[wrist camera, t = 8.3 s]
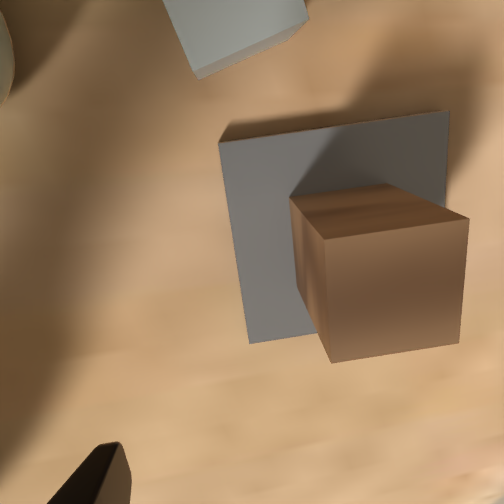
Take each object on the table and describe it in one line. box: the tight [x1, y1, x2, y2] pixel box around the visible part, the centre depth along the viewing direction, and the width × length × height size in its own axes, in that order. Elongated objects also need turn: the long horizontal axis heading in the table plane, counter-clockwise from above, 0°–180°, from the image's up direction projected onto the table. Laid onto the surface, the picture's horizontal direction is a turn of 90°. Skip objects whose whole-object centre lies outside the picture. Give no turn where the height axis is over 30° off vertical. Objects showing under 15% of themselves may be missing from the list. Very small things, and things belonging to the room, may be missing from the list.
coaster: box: [218, 111, 450, 344], centre depth 18 cm, size 10×10×1 cm
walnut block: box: [289, 183, 470, 363], centre depth 15 cm, size 4×4×6 cm
